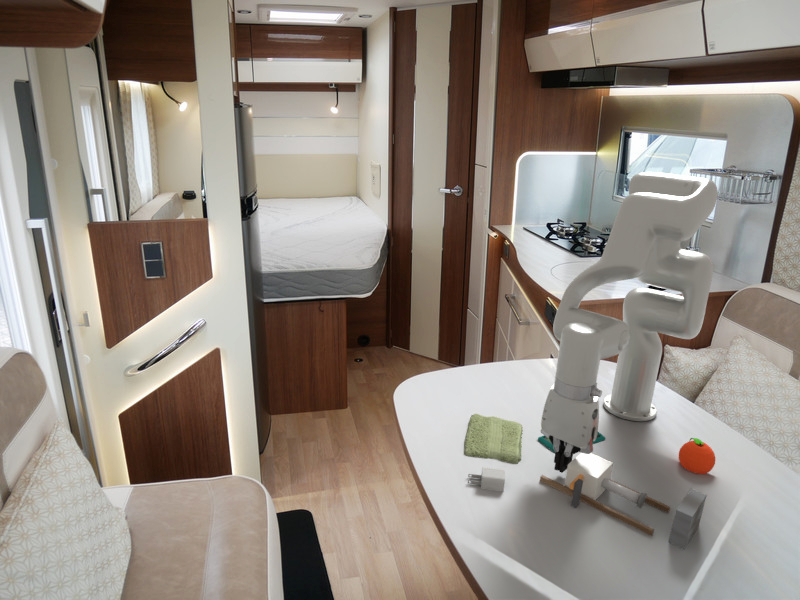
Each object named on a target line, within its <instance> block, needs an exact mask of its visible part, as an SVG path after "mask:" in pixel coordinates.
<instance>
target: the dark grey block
mask: <svg viewBox="0 0 800 600" xmlns="http://www.w3.org/2000/svg"><path fill="white" fill-rule="evenodd" d="M582 485H583V480H581V479H578V480H577V481H576V482H575V484H574V490H573V496H571V503H570V506H571V507H572V508H574V509H576V508H577V507H578V506H579V505H580V502H581V501H580V497H581V491H582Z"/></svg>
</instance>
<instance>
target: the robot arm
mask: <svg viewBox="0 0 800 600" xmlns="http://www.w3.org/2000/svg"><path fill="white" fill-rule="evenodd" d="M718 192H719V191H718V187H717V185H716V183H715V182H714V181H713V180H711V179H709V178H707V177H698V176H689V175H681V174H675V173H674V174H673V173H666V172H658V171H657V172H656V171H655V172H654V171H653V172H652V171H645V172H643V171H642V172H638V173H636V174H634V175H633V176H632V177H631V178H630V181H629V183H628V195H627V196H626V197H624V199H623V200H622V201H621V204H620V205H619V206H620V207H619V209H618V210H617V211H618V212H617V214H616V216H615V220H614V221H613V225H612V227H611V230H610V233H609V236H608V239H607V242H606V245H604V249H603V252H602V255H601V257H600V259H599V260H598V261H597V262H596V263H593V264H592V265H590V266H589V267H587V268H586V269H584V270H583V271H581V272H580V273H579V274H578V275H577V276H576V277H575V278H574V279H573V280H572V281H571V282H570V283H569V285H568V286H567V288H566V289H565V290H564V292H563V295H562V297H561V300H560V303H559V305H558V308H557V311H556V314H555V317H554V320H553V327H552V331H553V335H554V336H555V339H556V340H557V341H559V348H558V356H557V363H556V370H555V376H554V382H553V385H552V386H551V387H550V389H549V391H548V394H547V397H546V401H545V404H544V406H543V409H542V410H543V411H542V415H541V423H540V428H541V429H540V433H541V434H542V436H544V435H545V436H546V437H547V438H549V439H550V441H551V443H552V444H553V449H554V451H555V452H554V458H553V463H554V471H559V473H564V472H565V471H567V467H568V464H569V463H570V462H571V461H572V460H573V455H575V454H578V453H585V454H590V453H592V452H593V451H594V447H593V446H594V445H593V444H592V441H595V440H596V438H597V433H598V432H599V422H600V421H599V419H600V403H599V402H600V401H599V398H601V396H602V395H603V390H601V389H599V387H598V383H597V379H598V374H599V370H600V369H599V368H600V364H601V363H600V362H601V360H604V359H609V358H612V357H615V356H617V355H618V357H617V360H616V361H617V362H616V367H615V372H614V378H613V384H612V389H611V393H610V394H607V395H605V397H603V407H604V408H605V410H607V411H608V412H609V413H610V414H612V415H614V416H616V417H619V418H620V419H624V420H628V421H633V422H647V421H650V420H652V419H654V418H656V417H657V412H658V411H657V407H656V406H655V404H654V403H653V398H654V393H655V389H656V382H657V378H658V373H659V368H660V364H661V358H662V355H663V343H662V341H661V338H660V336H659V334H663V335H667V336H670V337H674V338H679V339H683V340H691V339H694V338H696V337H697V336H698V335H699V334H700V331H701V330H702V326H703V323H704V319H705V315H706V310H707V303H708V300H709V296H710V295H709V294H710V292H711V291H710V290H711V285H712V279H713V274H714V273H713V272H714V267H713V266H714V265H713V261H712V259H711V258H710V257H709V256H708V254H705V253H702V252H700V251H695V250H689V249H684V248H682V246H681V243H682V242H687V241H688V240H689V239H692V238H693V236H694V235H695V234H696V233H697V232H698V230H699V229H700V228H701V227H702V225H703V224H704V223H705V221H706V220H707V219H708V218H709V217H710V215H711V214H712V213H713V211H714V209H715V207H716V204H717V200H718V195H719V193H718ZM632 279H633V280H634V279H637V280H638V281H639V282H640V283H642V284H645V285H647V286H652V287H655V288H659V289H660V288H661V289H663V290H664V289H665V290H668V291H673V292H677V293H680V294H682V295H679V294H675V293H672V292H671V293H670V292H666V291H663V290H659V289H653V288H648V287H636V288H633V289H631V290H630V291H628V292H627V293H626V295H625V297H624V300H623V304H622V320H621V319H619V318H617V317H612V316H609V315H604V314H601V313H599V312H594V311H591V310H588V309H587V310H586V309H583V308H580V304H581V302H582V300H583V299H584V298H585V297H586V295H588V293H590V292H591V291H592V290H594V289H596V288H598V287H600V286H603V285H607V284H610V283H614V282H621V281H626V280H632ZM565 442H567V446H566V447H565Z"/></svg>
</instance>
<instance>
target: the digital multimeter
mask: <svg viewBox="0 0 800 600" xmlns="http://www.w3.org/2000/svg"><path fill="white" fill-rule="evenodd" d="M605 440H606V436H604V435H603V434H602V433H601V432H599V431H598V433H597V438H596V440H595V441H592V444H598V443H599V442H604V441H605ZM537 441H538V442H540V444H542V445H543V446H545V448H547V449H548V450H550V451H552V452H554V453H555V451H554V449H553V444H552V443H551V441H550V439H549V438H547V437H546V436H545V435H541V436H539V437H537ZM566 446H567V442H565V447H566Z"/></svg>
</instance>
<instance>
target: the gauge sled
mask: <svg viewBox="0 0 800 600" xmlns="http://www.w3.org/2000/svg"><path fill="white" fill-rule="evenodd" d="M613 465H614V462H612V461H610V460H607V459H605V458H604V457H601V456H599V455H596V454H594V453H592V452H591V453H590V454H585V453H581V452H579V454H578V455H577V456H576V457H574V458H573V459H572V461H571V462H570V463H569V464H568V467H567V469H566V474H565V479H564V480H565V481H564V486H566V487H568V488H570V489H572V490H574V484H575V482H576V481H577V480H578V479H581V480H583V485H582V491H581V494H583V495H585V496H587V497H589V498H591V499H593V500H595V501H597V499H599V497H600V496H601V495H603V494H604V492H605V491H606V490H607V491H609V492H611V493H613V494H616V495H618V496H620V497H622V498H624V499H626V500H627V501H631V502H632V503H635V504H636V507H637V508H640V509H642V508H643V507H644V505H645V504H646V503H645V501H646V497H647V496H648V494H647V493H646V492H643V491H642V492H639V493H641V494H639V493H637V492H638V491H637V492H634V491H632V490H633V489H632V490H630V489H631V488H630V489H628V488H629V487H628V488H626V487H627V486H626V487H623V486H621V485H622V484H621V485H619V484H620V483H619V484H617V483H618V482H617V483H615V482H616V481H615V482H613V481H614V480H613V481H610V480H611V477H612V476H611V475H612V471H613V470H612V469H613Z"/></svg>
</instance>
